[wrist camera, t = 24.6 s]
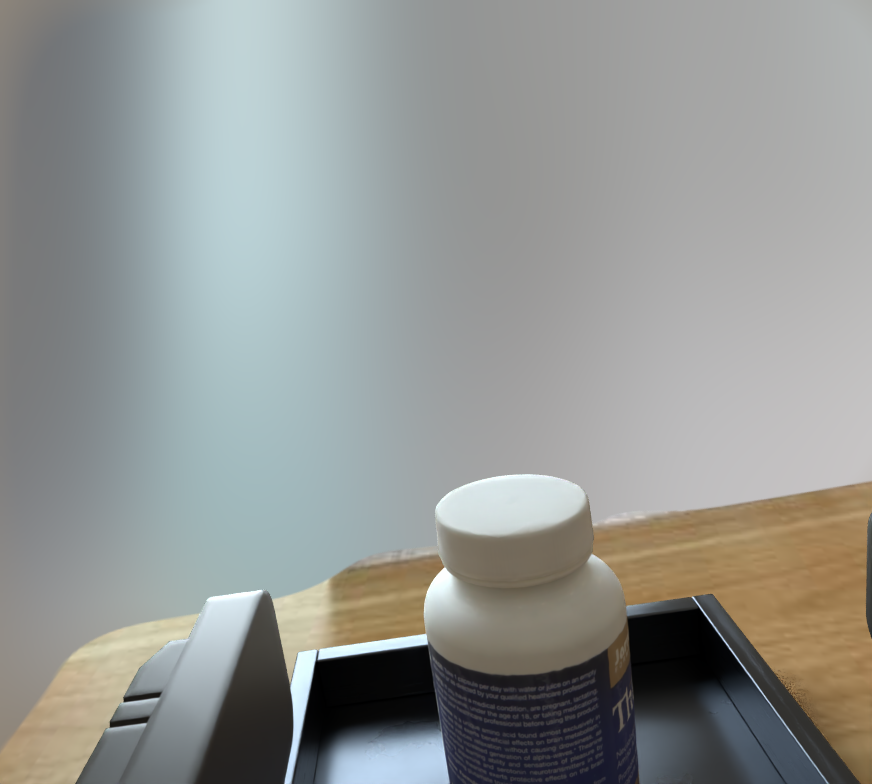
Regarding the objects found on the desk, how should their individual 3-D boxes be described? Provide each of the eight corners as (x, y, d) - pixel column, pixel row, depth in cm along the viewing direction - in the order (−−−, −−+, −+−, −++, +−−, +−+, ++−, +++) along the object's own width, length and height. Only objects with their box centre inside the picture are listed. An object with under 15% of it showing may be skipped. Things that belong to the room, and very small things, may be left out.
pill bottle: (673, 874, 20) (650, 528, 17) (467, 912, 19) (413, 565, 17) (609, 733, 25) (585, 452, 22) (447, 761, 25) (404, 480, 22)
